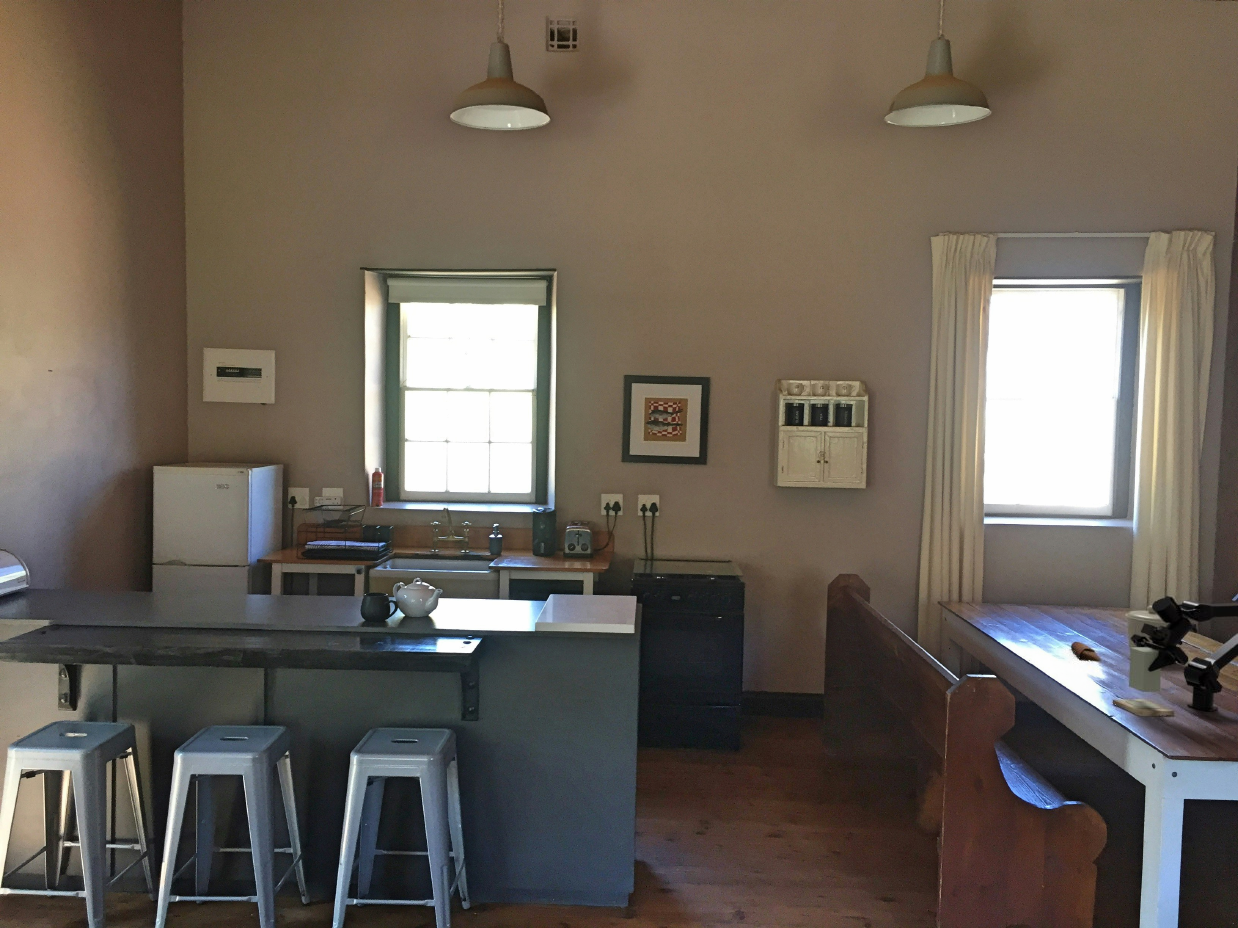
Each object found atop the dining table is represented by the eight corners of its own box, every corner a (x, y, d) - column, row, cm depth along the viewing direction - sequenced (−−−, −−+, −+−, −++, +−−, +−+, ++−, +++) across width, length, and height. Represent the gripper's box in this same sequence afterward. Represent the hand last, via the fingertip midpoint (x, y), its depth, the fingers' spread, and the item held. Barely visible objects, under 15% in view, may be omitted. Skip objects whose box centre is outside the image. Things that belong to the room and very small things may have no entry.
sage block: (1145, 685, 285) (1147, 647, 284) (1159, 691, 279) (1161, 651, 278) (1128, 686, 284) (1130, 647, 283) (1142, 691, 278) (1144, 652, 277)
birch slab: (1145, 704, 288) (1145, 698, 288) (1174, 717, 277) (1174, 710, 276) (1112, 705, 286) (1112, 698, 286) (1139, 717, 275) (1140, 710, 275)
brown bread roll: (1103, 661, 341) (1094, 645, 342) (1085, 669, 343) (1076, 653, 344) (1093, 650, 358) (1085, 636, 359) (1076, 658, 360) (1068, 643, 361)
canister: (1184, 666, 337) (1187, 611, 336) (1132, 662, 341) (1135, 608, 340) (1165, 655, 355) (1168, 602, 354) (1116, 651, 358) (1119, 599, 358)
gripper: (1136, 609, 290) (1105, 643, 289) (1182, 621, 272) (1148, 658, 270) (1157, 632, 292) (1125, 666, 290) (1203, 646, 273) (1170, 683, 272)
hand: (1141, 667), depth 281 cm, fingers closed on sage block, 6 cm apart
